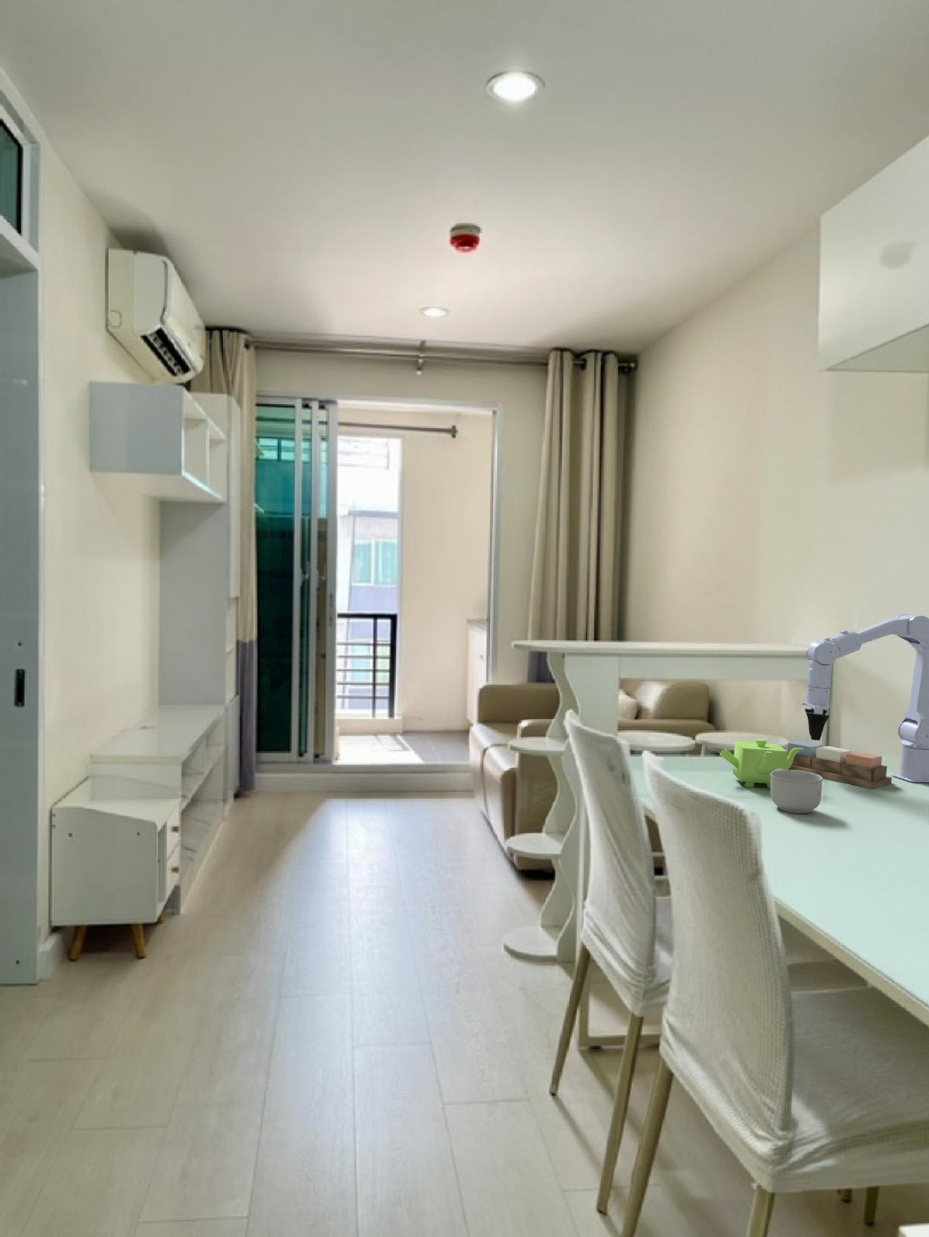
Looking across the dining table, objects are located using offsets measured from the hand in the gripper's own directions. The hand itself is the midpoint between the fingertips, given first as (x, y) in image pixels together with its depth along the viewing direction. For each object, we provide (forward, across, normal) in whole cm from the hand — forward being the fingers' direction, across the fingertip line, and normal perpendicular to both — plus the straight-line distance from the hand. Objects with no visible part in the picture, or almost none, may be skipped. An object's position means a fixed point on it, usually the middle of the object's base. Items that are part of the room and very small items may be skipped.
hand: (814, 737), depth 233 cm
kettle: (+10, +23, -13) cm, 28 cm away
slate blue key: (+6, -5, -2) cm, 8 cm away
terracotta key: (+6, +2, +12) cm, 14 cm away
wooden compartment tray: (+10, -1, +5) cm, 11 cm away
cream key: (+6, -1, +5) cm, 8 cm away
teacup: (+10, +43, -6) cm, 45 cm away
